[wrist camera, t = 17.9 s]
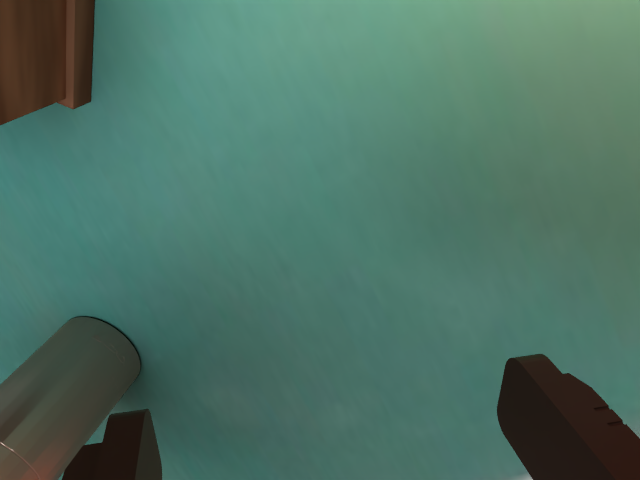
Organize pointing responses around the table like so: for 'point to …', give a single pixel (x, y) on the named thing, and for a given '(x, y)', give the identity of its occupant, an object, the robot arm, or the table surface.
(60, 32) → the tall walnut stand
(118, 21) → the table surface
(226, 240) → the table surface
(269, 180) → the table surface
